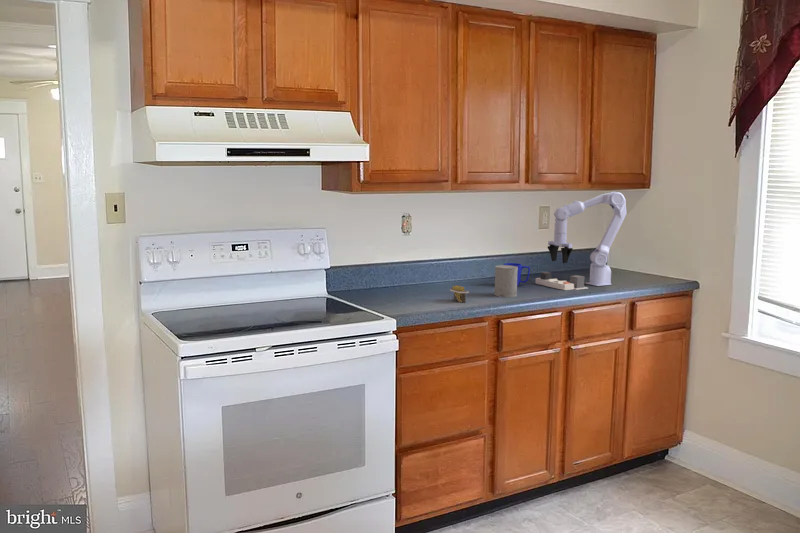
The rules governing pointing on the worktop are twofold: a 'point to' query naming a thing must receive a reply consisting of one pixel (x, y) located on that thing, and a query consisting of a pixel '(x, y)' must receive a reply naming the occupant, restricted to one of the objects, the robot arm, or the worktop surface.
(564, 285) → the power strip
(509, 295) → the gray concrete cylinder
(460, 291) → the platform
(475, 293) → the worktop surface
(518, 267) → the mug
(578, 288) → the mat
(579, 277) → the block
